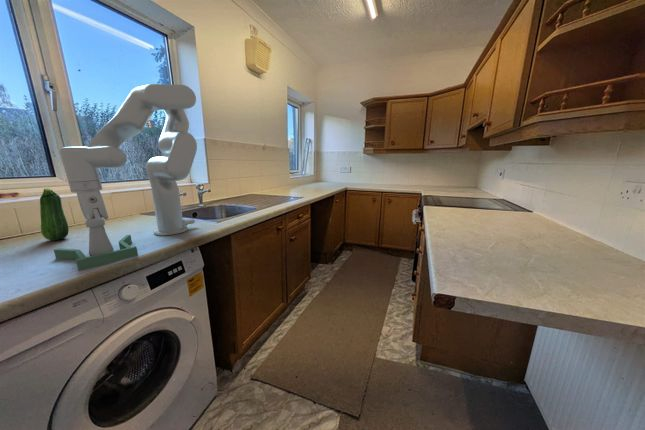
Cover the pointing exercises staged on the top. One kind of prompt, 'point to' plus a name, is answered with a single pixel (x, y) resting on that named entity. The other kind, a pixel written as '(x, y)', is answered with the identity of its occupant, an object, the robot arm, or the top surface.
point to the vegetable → (52, 216)
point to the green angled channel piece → (98, 259)
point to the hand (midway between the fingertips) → (100, 239)
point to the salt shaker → (98, 237)
